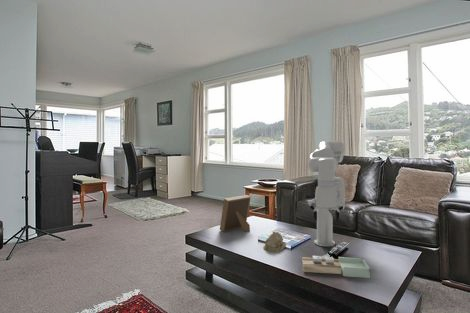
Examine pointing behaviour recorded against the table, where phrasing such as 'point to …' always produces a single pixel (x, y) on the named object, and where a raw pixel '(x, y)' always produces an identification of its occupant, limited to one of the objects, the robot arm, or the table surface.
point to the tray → (354, 267)
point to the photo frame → (235, 213)
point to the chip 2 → (329, 260)
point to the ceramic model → (274, 243)
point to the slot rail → (320, 266)
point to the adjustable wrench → (326, 254)
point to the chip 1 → (317, 260)
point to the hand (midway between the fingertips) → (326, 219)
